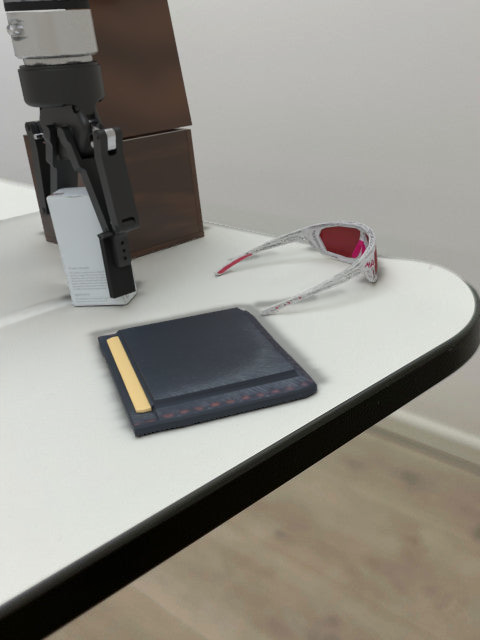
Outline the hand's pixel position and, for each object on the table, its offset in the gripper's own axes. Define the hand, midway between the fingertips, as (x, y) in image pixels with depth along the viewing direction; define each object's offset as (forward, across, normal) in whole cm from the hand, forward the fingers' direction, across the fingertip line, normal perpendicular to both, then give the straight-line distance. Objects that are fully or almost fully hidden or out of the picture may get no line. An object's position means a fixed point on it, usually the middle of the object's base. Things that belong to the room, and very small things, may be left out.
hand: (101, 287), depth 83 cm
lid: (-22, -12, +16) cm, 30 cm away
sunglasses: (+2, +14, +17) cm, 22 cm away
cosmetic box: (+2, 0, 0) cm, 2 cm away
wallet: (+2, +22, -5) cm, 23 cm away
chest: (+2, -19, +16) cm, 25 cm away
